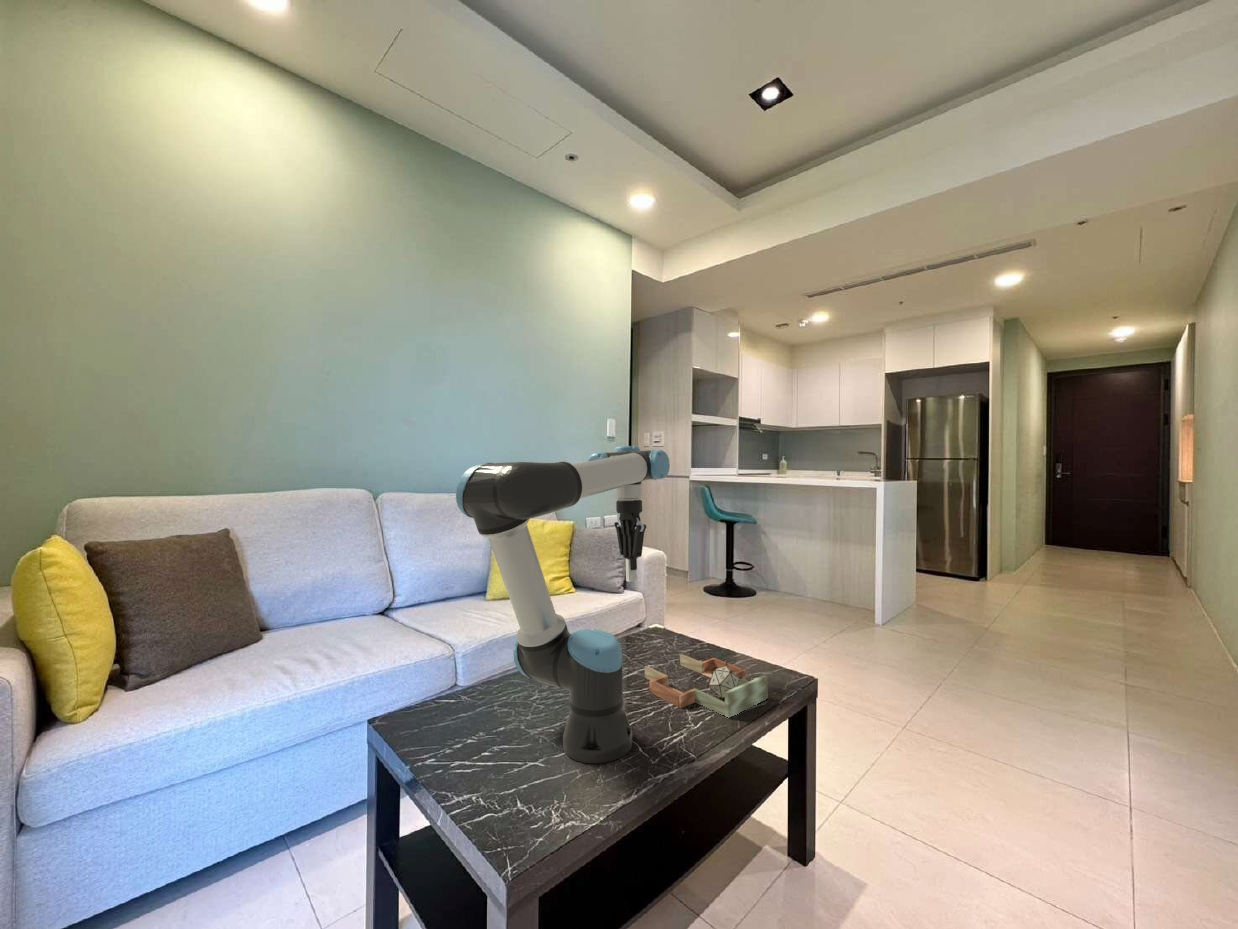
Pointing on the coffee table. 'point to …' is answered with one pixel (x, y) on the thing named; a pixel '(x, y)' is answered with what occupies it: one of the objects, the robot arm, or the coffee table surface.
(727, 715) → the trap box
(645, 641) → the coffee table surface
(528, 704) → the coffee table surface
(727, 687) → the game die
